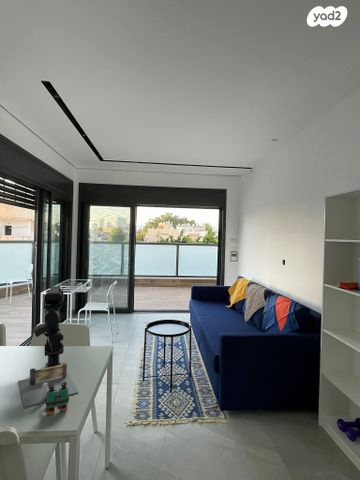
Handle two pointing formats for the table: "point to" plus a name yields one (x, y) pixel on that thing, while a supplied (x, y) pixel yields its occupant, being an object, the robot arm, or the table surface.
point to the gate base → (43, 389)
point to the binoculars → (57, 398)
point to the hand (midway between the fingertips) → (52, 350)
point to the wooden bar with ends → (48, 373)
